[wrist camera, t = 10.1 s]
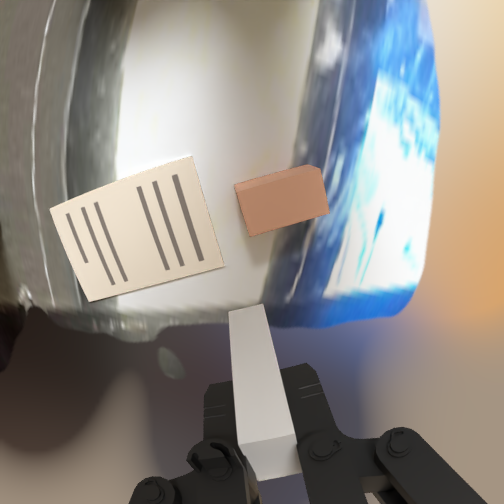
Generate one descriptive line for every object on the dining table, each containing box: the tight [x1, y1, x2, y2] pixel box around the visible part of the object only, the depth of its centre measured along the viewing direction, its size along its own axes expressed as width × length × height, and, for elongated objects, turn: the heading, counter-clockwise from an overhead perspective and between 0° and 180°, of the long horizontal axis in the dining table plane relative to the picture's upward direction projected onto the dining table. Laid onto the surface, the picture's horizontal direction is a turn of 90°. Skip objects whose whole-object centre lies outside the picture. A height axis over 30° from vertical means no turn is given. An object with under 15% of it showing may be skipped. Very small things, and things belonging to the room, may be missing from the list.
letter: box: [50, 156, 224, 302], centre depth 35 cm, size 14×20×1 cm
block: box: [234, 164, 330, 237], centre depth 34 cm, size 5×5×9 cm
